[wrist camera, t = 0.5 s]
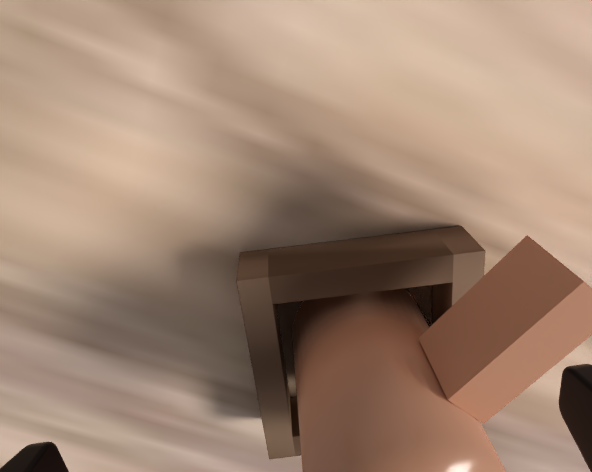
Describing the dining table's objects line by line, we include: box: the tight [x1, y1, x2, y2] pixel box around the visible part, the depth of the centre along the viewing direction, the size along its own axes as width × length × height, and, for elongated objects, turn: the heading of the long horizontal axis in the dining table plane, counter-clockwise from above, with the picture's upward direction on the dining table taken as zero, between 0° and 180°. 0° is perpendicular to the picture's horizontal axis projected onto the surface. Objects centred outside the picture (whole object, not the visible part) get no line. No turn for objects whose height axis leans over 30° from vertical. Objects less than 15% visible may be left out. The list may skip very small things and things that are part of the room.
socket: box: [236, 226, 485, 459], centre depth 21 cm, size 9×9×2 cm
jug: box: [292, 236, 592, 472], centre depth 17 cm, size 11×6×9 cm, turn 141°
